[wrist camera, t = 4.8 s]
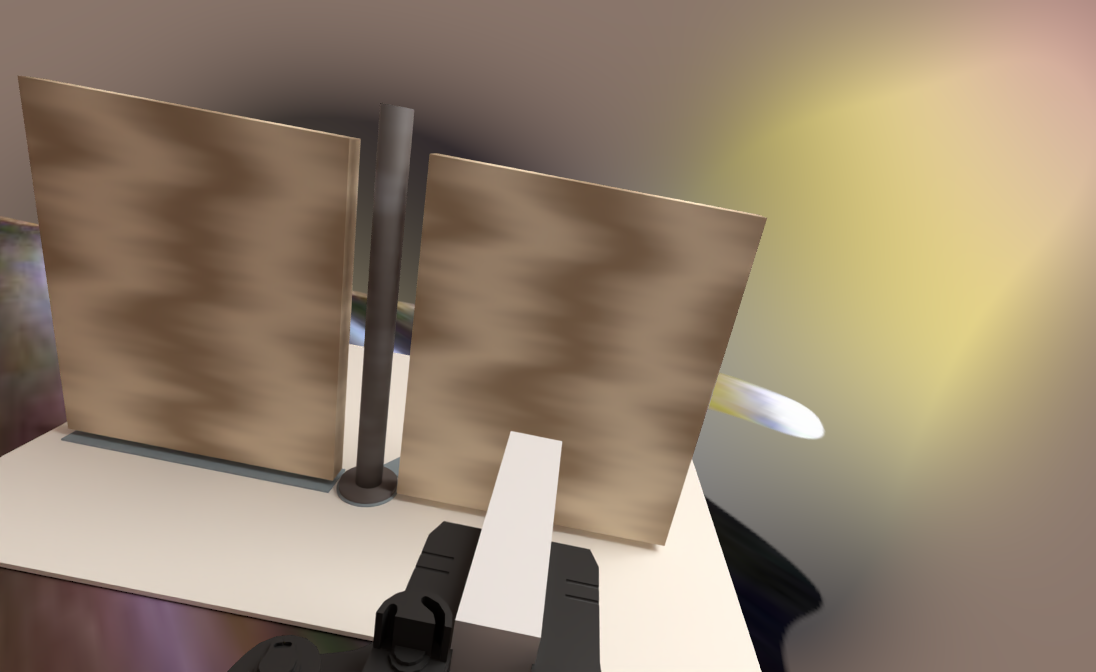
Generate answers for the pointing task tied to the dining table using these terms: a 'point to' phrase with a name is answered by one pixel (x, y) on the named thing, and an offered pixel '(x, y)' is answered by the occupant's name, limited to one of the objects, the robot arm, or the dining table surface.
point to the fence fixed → (216, 278)
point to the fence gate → (568, 339)
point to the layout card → (332, 542)
